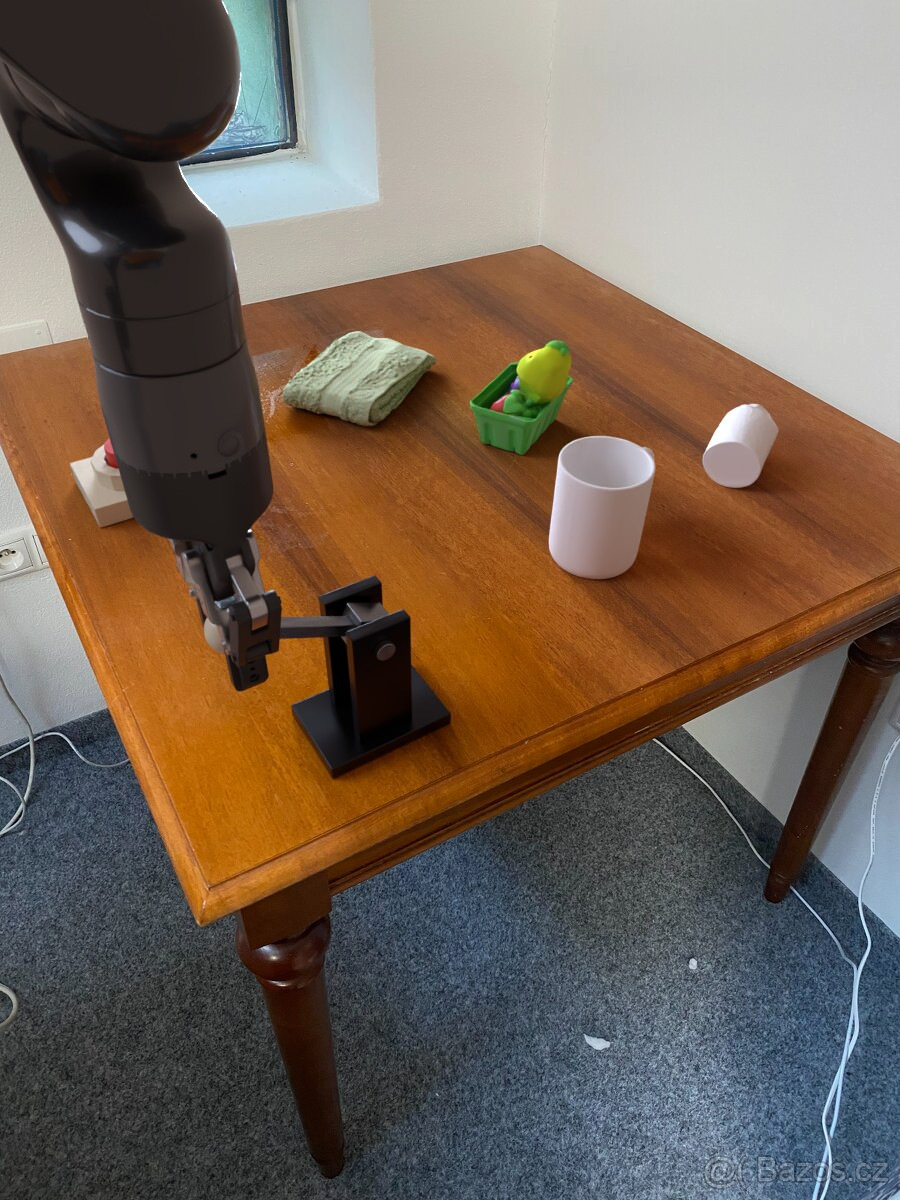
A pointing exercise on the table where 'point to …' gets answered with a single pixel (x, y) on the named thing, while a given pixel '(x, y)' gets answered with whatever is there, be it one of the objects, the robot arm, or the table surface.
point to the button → (110, 454)
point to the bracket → (367, 688)
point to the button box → (102, 488)
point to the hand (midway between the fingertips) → (237, 660)
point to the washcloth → (358, 378)
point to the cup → (600, 505)
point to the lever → (314, 624)
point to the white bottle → (740, 446)
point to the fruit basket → (524, 398)
